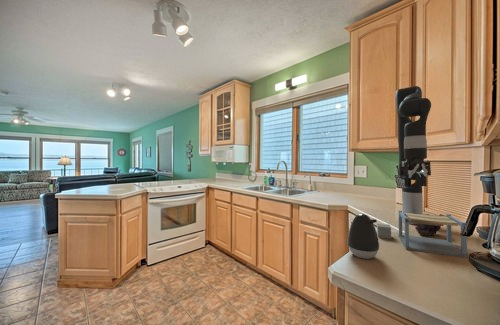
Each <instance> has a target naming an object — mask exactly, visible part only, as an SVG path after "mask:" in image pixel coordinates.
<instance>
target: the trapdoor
mask: <svg viewBox="0 0 500 325" xmlns="http://www.w3.org/2000/svg"><path fill="white" fill-rule="evenodd" d="M425 214H426V213H425ZM425 214H424V213H423V214H412V213H405V214H404V215H405V216H406V217H408V218H409V223H416V224H415V225H417V224H427V225H437V226H441V227H444V226H447V225H451V226H455V227H458V226H459V225H458V223H457V222H455V221H453V220H451V219H450V218H449V217H446V215H436V214H435V215H434V214H430V215H425Z"/></svg>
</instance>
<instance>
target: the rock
mask: <svg viewBox="0 0 500 325" xmlns="http://www.w3.org/2000/svg"><path fill="white" fill-rule="evenodd" d="M425 215H431V214H429V213H425ZM441 227H442V226H437V225H427V224H416V226H415V227H414V228H415V230H416V231H417V234H419V235H421V236H423V237H428V236H435V235H436V234H437V232H439V231H440V229H441Z"/></svg>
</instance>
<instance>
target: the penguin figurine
mask: <svg viewBox="0 0 500 325" xmlns="http://www.w3.org/2000/svg"><path fill="white" fill-rule="evenodd" d="M377 222H378V221H377V219H376V218H375V219H374V218H372V219H371V217H370V216H368V215H367V214H366V213H359V214H357V215H355V216H354V218H353V219H352V220H351V224H350V227H349V230H348V234H347V242H346V243H347V246H348V248H349V251H350V252H351V254H353V256H354V257H355V256H356V257H357V258H360V259H365V260H369V259H373V258H374V257H376V256H377V254H378V252H379V250H380V241H379V237H378V235H377V228H376V227H375V225H374V224H375V223H377Z"/></svg>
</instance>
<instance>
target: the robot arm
mask: <svg viewBox="0 0 500 325" xmlns="http://www.w3.org/2000/svg"><path fill="white" fill-rule="evenodd" d="M394 97H395V106H396V115H397V116H396V118H397V143H398V177H399V179H400V180H404V186H402V187H401V194H402V195H401V197H402V198H401V203H402V205H401V206H402V208H401V211H402V213H403V214H405V213H412V214H424V212H423V211H424V210H423V209H424V207H423V205H424V203H423V200H424V199H423V197H424V196H423V187H427V184H428V183H427V182H428V180H427V179H428V177H430V176H431V175H432V170H431V168H432V167H431V161H425V159H427V158H428V140H427V132H426V131H427V121H428V116H429V114H430V111H431V108H432V102H431V100H430V99H429V98H427V97H423V91H422V88H421V87H420V86H419V85H413V86H409V87H403V88H399V89H397V90H396V91H395V96H394ZM414 117H419V118H418V119H416V120H415V121H413V120H412V119H411V118H414ZM412 181H414V182H413V183H412ZM402 223H405V222H404V220H403V219H402ZM411 224H412V225H417V224H416V223H409V225H411Z"/></svg>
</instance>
